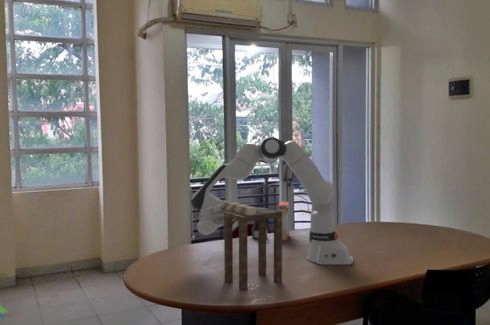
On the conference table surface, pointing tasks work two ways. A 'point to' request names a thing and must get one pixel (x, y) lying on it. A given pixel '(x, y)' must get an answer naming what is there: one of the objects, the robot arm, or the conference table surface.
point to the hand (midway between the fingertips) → (230, 205)
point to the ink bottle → (256, 230)
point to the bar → (238, 208)
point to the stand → (261, 217)
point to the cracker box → (284, 219)
